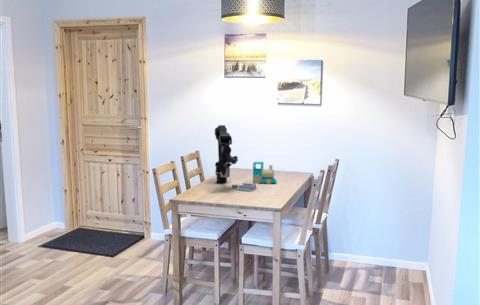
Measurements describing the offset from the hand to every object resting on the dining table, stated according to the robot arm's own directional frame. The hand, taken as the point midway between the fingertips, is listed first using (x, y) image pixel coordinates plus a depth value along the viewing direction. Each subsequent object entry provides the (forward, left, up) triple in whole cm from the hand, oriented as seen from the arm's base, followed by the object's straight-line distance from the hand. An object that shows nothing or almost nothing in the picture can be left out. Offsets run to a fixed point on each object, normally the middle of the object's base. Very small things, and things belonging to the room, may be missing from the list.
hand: (225, 175), depth 318 cm
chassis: (+11, +5, -10) cm, 16 cm away
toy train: (+18, +30, -10) cm, 36 cm away
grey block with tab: (0, 0, -1) cm, 1 cm away
